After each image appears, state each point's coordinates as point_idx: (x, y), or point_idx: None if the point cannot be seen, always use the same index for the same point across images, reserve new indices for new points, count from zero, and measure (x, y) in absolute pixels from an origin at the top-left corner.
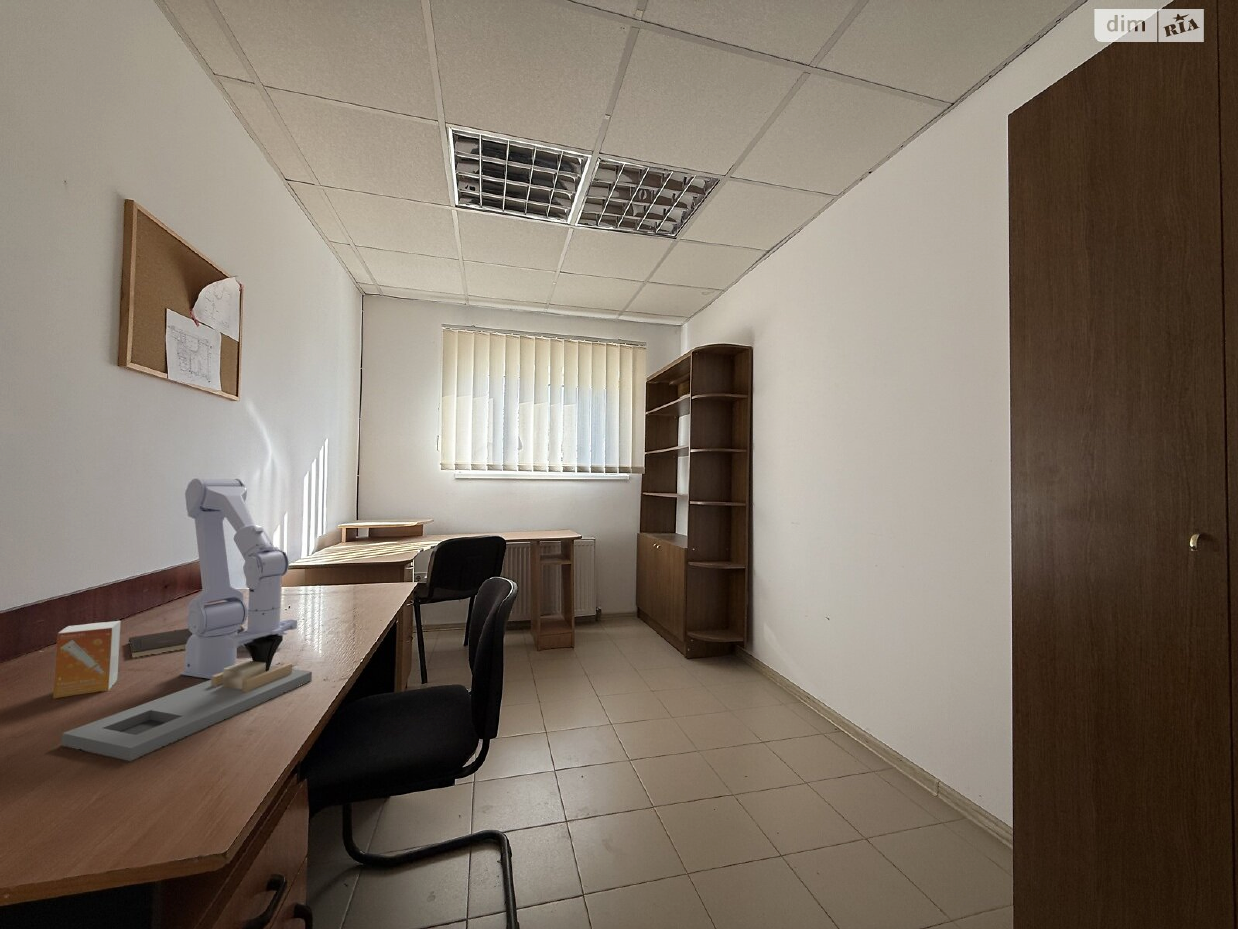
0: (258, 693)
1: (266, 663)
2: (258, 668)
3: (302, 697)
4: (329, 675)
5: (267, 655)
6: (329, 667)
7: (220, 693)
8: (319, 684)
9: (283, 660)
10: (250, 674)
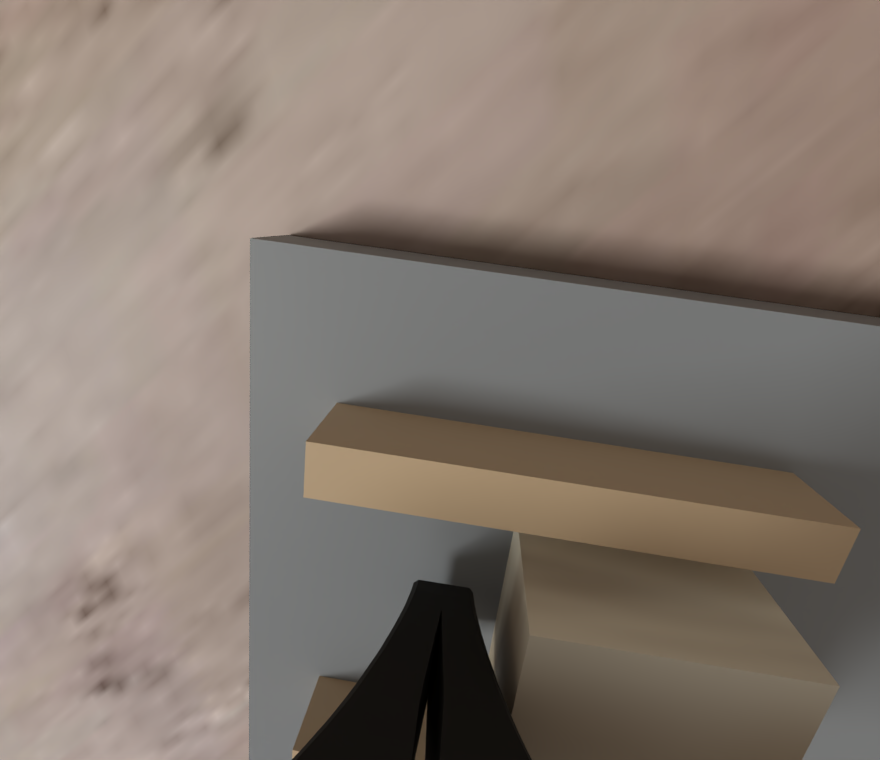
0: (850, 338)
1: (456, 645)
2: (618, 623)
3: (636, 15)
4: (137, 168)
5: (458, 727)
6: (8, 307)
7: (824, 634)
8: (332, 96)
9: (58, 692)
10: (697, 613)
